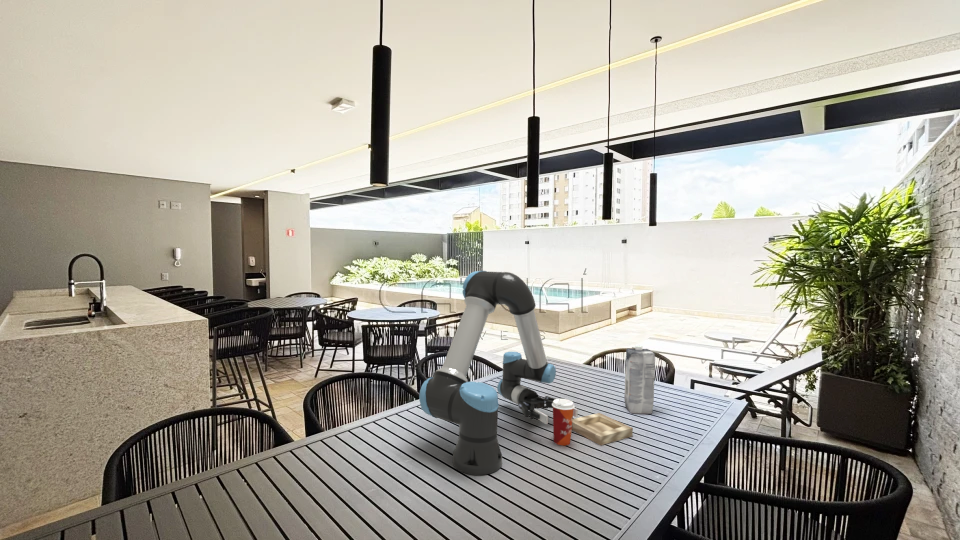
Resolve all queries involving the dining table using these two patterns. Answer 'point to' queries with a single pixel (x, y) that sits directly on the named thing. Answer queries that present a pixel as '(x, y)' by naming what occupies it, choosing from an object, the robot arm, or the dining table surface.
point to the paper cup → (562, 421)
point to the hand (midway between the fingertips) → (562, 416)
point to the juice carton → (639, 380)
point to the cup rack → (601, 428)
